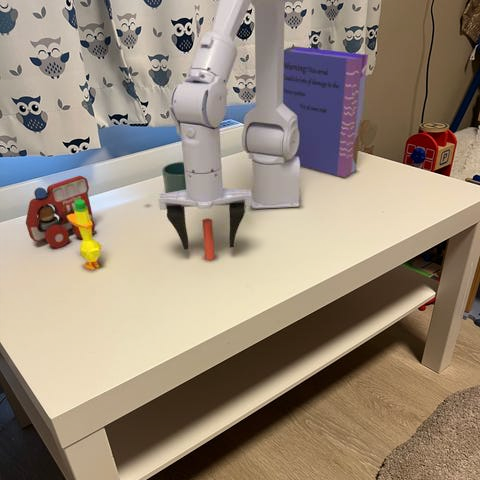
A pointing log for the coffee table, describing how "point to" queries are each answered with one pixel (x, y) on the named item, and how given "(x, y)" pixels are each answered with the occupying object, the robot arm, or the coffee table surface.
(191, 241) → the coffee table surface
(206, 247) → the red cylinder
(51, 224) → the toy fire truck
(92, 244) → the toy figure
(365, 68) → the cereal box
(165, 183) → the can
